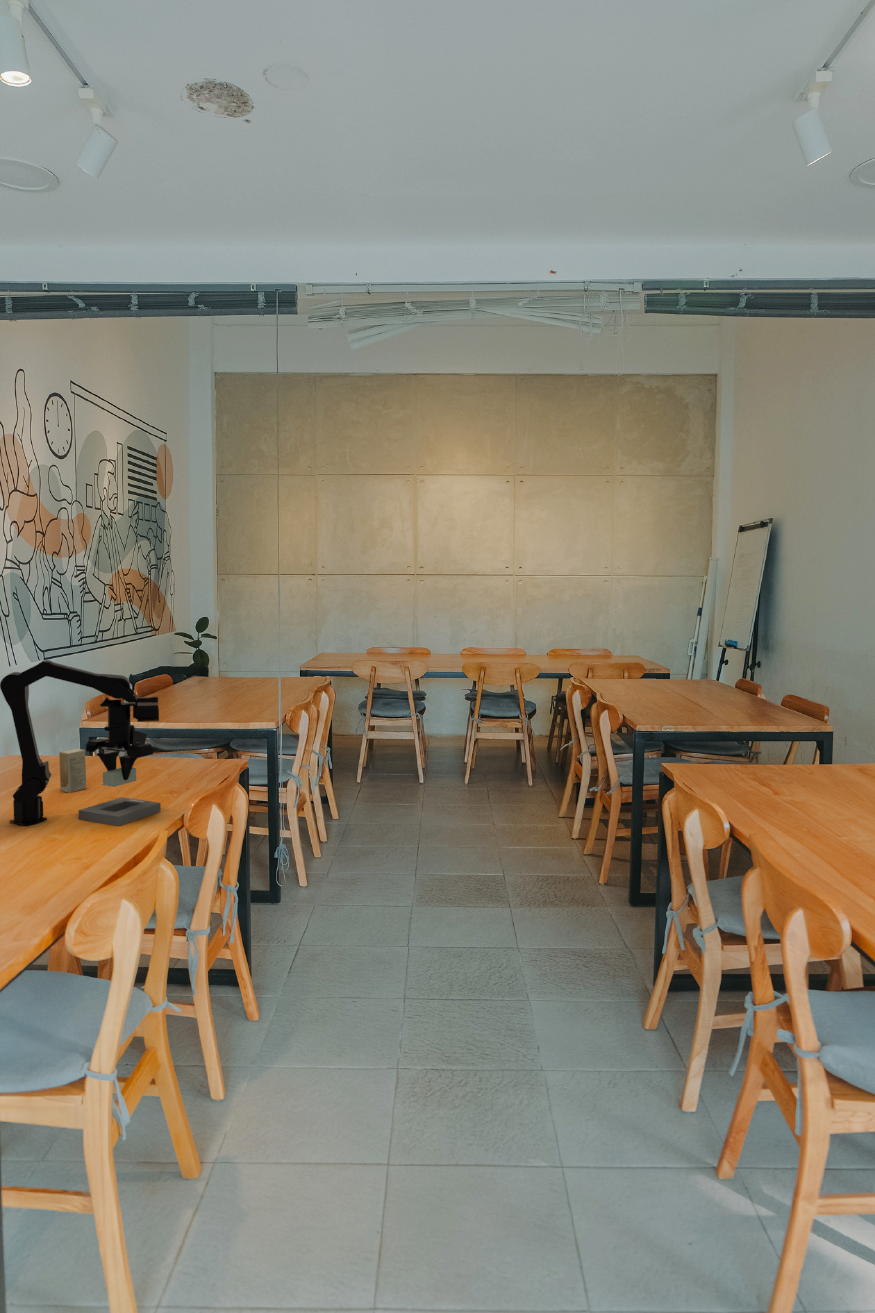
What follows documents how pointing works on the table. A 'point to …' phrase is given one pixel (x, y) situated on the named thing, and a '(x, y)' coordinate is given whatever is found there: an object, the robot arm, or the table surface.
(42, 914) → the table surface
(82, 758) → the skincare box
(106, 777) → the key block
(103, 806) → the socket board
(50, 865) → the table surface
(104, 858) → the table surface
